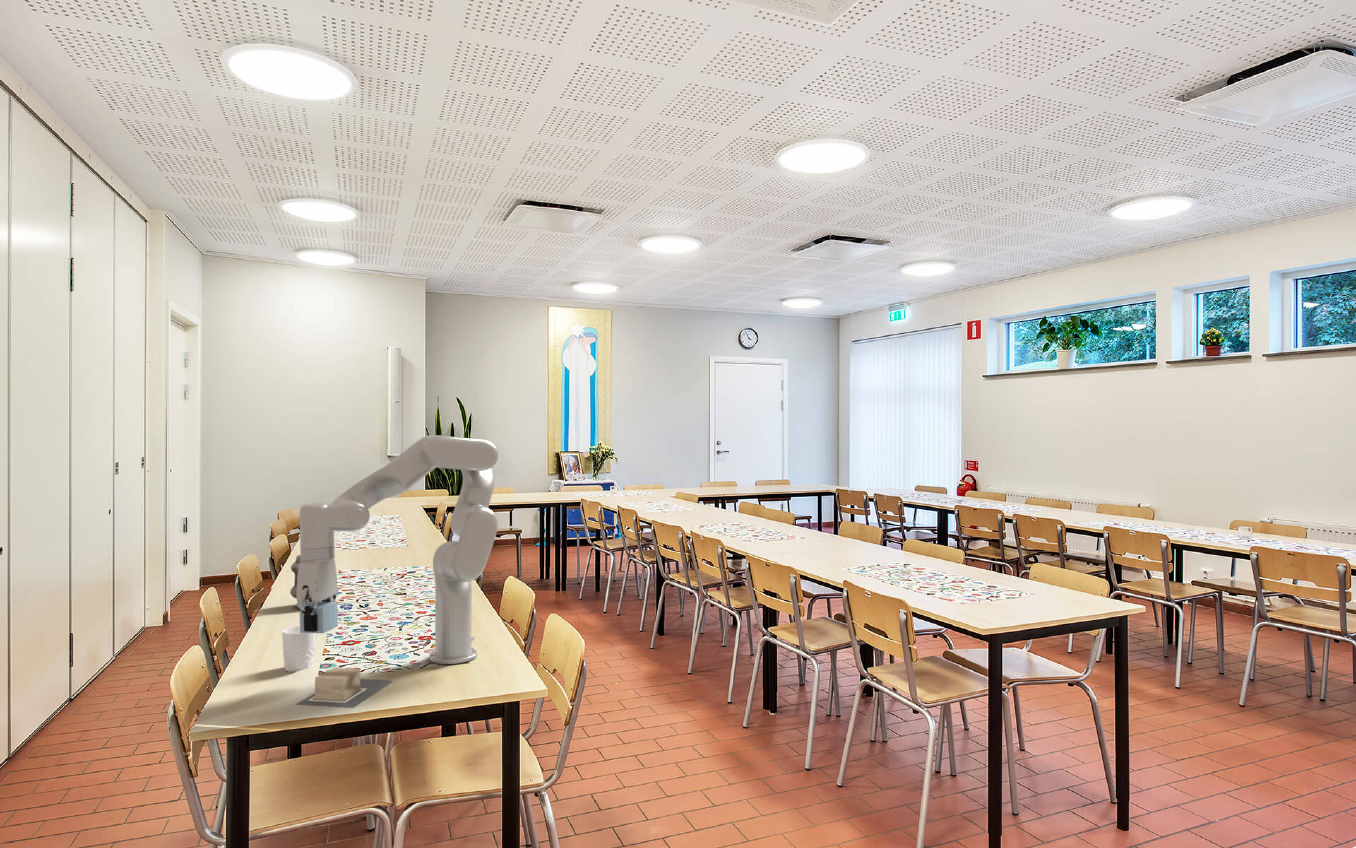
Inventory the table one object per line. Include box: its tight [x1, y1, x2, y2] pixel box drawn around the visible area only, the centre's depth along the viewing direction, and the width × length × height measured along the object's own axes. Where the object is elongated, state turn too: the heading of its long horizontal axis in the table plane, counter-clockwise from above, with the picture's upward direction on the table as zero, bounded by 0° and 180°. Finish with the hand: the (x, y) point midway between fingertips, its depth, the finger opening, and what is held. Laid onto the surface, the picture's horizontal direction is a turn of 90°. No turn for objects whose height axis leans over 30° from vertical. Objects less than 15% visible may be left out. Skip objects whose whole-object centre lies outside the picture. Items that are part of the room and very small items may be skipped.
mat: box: [295, 678, 394, 709], centre depth 178 cm, size 18×14×1 cm
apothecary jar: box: [289, 554, 312, 610], centre depth 263 cm, size 12×12×18 cm
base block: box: [314, 667, 361, 701], centre depth 176 cm, size 7×7×5 cm
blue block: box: [299, 601, 339, 634], centre depth 185 cm, size 6×6×6 cm
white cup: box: [281, 625, 317, 673], centre depth 197 cm, size 8×8×10 cm
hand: (319, 626), depth 185 cm, fingers closed on blue block, 6 cm apart
